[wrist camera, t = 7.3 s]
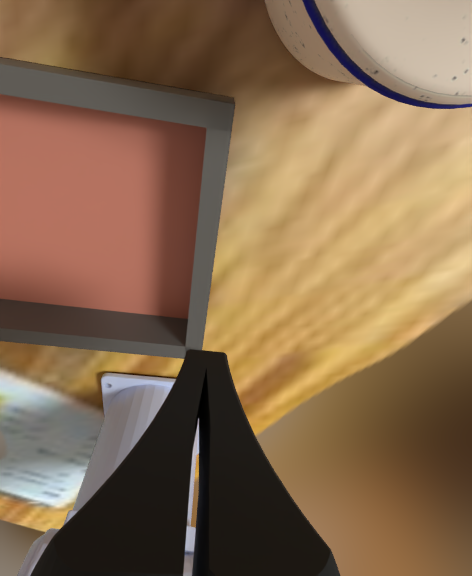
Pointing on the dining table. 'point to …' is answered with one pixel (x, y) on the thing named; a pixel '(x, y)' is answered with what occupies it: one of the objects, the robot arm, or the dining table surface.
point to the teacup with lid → (384, 45)
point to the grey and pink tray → (108, 209)
